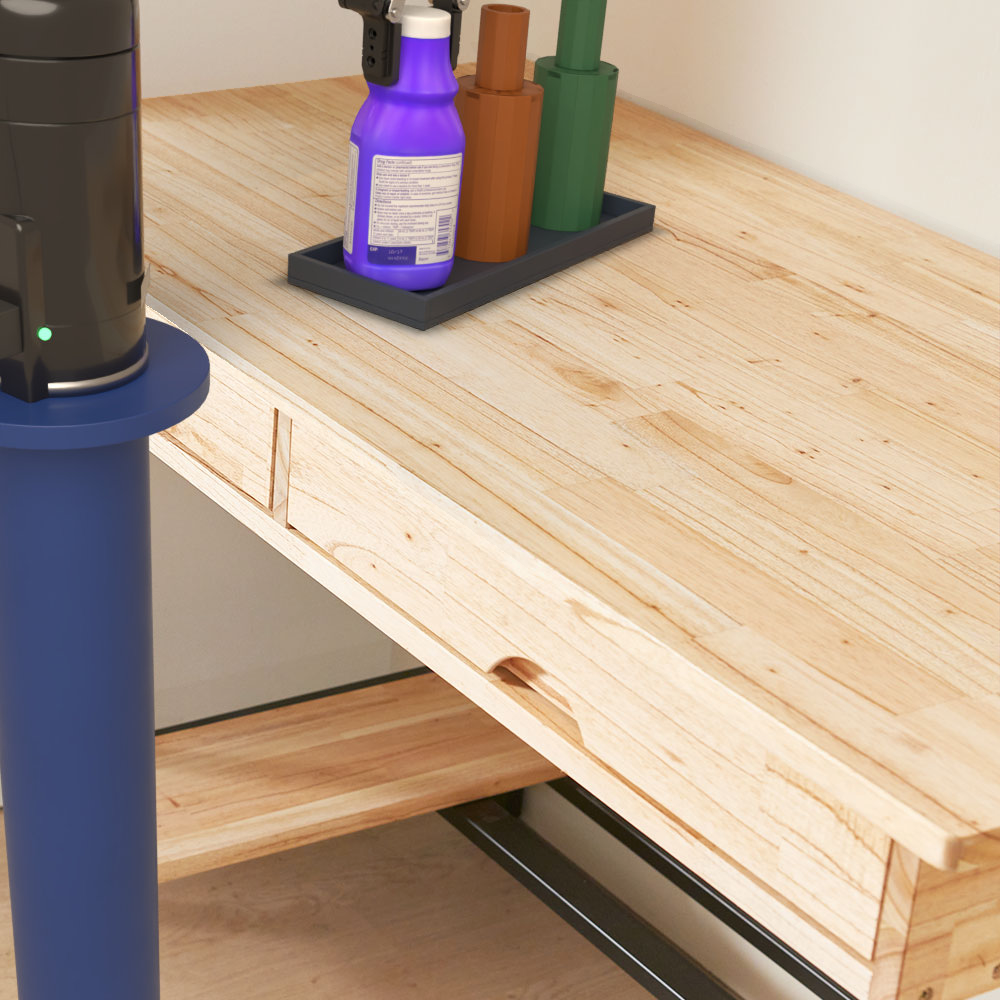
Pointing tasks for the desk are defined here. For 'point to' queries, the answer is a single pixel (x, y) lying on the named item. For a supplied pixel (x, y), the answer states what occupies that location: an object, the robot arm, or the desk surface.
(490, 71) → the amber bottle
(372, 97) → the bottle
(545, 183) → the green bottle
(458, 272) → the tray
